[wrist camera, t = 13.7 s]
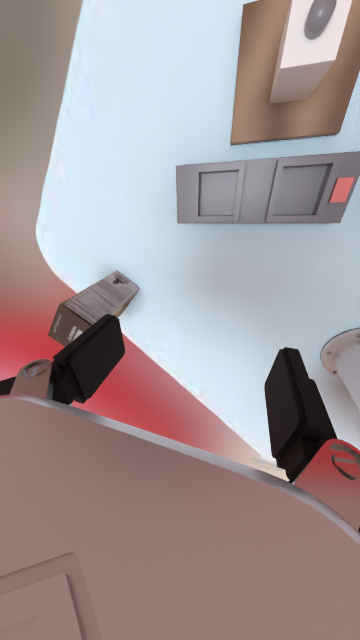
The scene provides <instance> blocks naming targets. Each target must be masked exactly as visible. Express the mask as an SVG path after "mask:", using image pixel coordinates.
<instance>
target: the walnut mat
mask: <svg viewBox="0 0 360 640" xmlns="http://www.w3.org/2000/svg"><path fill="white" fill-rule="evenodd" d="M290 3H291V0H258V1H255V2H251V3H247V4H244V5H243V15H242V25H241V36H240V47H239V58H238V69H237V79H236V90H235V101H234V112H233V123H232V133H231V145H237V144H247V143H257V142H267V141H277V140H287V139H297V138H307V137H317V136H327V135H336V134H337V133H339V132H340V129H341V126H342V123H343V120H344V117H345V113H346V110H347V107H348V104H349V101H350V98H351V95H352V92H353V89H354V86H355V83H356V80H357V77H358V74H359V70H360V0H352V3H351V6H350V10H349V13H348V17H347V21H346V24H345V28H344V31H343V35H342V38H341V42H340V45H339V49H338V52H337V56H336V59H335V61H334V62H333V64H332V65H331V67H330V68H329V70H328V71H327V73H326V74H325V76H324V77H323V78H322V80H321V81H320V83H319V84H318V86H317V87H316V89H315V90H314V92H313V93H312V94H311V96H310V97H309V99H303V100H295V101H287V102H279V103H271V104H269V103H270V97H271V91H272V86H273V80H274V74H275V68H276V63H277V57H278V51H279V46H280V42H281V38H282V34H283V30H284V26H285V22H286V18H287V15H288V11H289V7H290Z"/></svg>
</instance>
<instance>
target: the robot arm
mask: <svg viewBox="0 0 360 640" xmlns="http://www.w3.org/2000/svg"><path fill="white" fill-rule="evenodd" d="M124 353H125V347H124V342H123V338H122V332H121V327H120V322H119V319H118V318H117V317H116V316H115V315H110V314H105V315H104V316H103V317H102V318H100V319H99V320H98V321H97V322H95V323H94V324H93V325H92V326H91V327H89V328H88V329H87V330H86V331H84V332H83V333H82V334H81V335H79V336H78V337H77V338H76V339H75V340H73V341H72V342H71V343H70V344H68V345H67V346H66V347H65V348H64V349H62V350H61V351H60V352H59V353H58V354H56V355H55V356H54V357H53V358H54V361H53V362H51V361H50V360H48V359H39V360H35V361H32V362H30V363H29V364H27V365H25V366H24V367H22V369H20V370H19V372H18V374H17V376H16V377H12V378H9V379H6V380H2V381H0V640H360V451H359V450H358V449H357V448H355V447H354V446H352V445H351V444H349V443H347V442H345V441H343V440H339V439H337V436H336V434H335V431H334V429H333V426H332V424H331V421H330V418H329V416H328V413H327V411H326V408H325V406H324V403H323V401H322V398H321V396H320V393H319V391H318V388H317V386H316V383H315V382H314V380H312V379H309V377H308V374H307V371H306V369H305V366H304V363H303V360H302V358H301V355H300V352H299V350H298V349H293V348H287V347H285V348H284V349H280V350H279V352H278V354H277V357H276V359H275V361H274V364H273V366H272V368H271V371H270V373H269V375H268V378H267V380H266V382H265V398H266V407H267V416H268V425H269V434H270V443H271V452H272V457H273V458H276V461H277V467H279V468H282V469H285V470H286V475H287V478H288V479H289V481H288V482H287V481H285V480H282V479H280V478H278V477H275V476H273V475H270V474H268V473H266V472H263V471H261V470H258V469H255V468H252V467H249V466H246V465H244V464H241V463H238V462H235V461H233V460H230V459H227V458H224V457H221V456H218V455H216V454H212V453H209V452H206V451H204V450H201V449H198V448H195V447H192V446H189V445H186V444H183V443H180V442H177V441H174V440H171V439H169V438H166V437H162V436H159V435H157V434H154V433H151V432H148V431H145V430H142V429H139V428H136V427H133V426H130V425H127V424H124V423H121V422H118V421H115V420H112V419H108V418H106V417H103V416H100V415H97V414H94V413H91V412H88V411H85V410H81V409H78V408H76V407H72V405H71V404H72V402H73V401H74V400H75V401H76V402H79V403H84V402H85V401H86V400H87V399H89V398H90V397H91V396H92V395H93V394H94V392H95V391H96V390H97V388H98V387H99V386H100V384H102V382H103V381H104V380H105V378H106V377H107V376H108V375H109V373H110V372H111V371H112V370H113V368H114V367H115V366H116V364H117V363H118V362H119V361H120V359H121V358H122V357H123V355H124ZM321 361H322V364H323V366H324V368H325V369H326V370H327V371H328V372H329V373H331V374H332V375H334V376H336V377H339V378H341V380H342V382H343V384H344V385H345V387H346V389H347V391H348V393H349V394H350V396H351V398H352V400H353V402H354V403H355V405H356V407H357V409H358V411H359V412H360V329H355V330H351V331H348V332H345V333H342V334H340V335H338V336H336V337H335V338H333V339H332V340H330V341H329V342H328V343H327V344H326V345H325V347H324V348H323V350H322V352H321Z"/></svg>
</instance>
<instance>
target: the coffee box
mask: <svg viewBox="0 0 360 640" xmlns="http://www.w3.org/2000/svg"><path fill="white" fill-rule="evenodd" d="M138 290H139V287H138V286H136V285H135V284H134V283H133V282H131V281H130V280H129V279H128V278H126V277H125V276H124V275H123V274H121V273H120V272H119V271H116V272H114V273H113V274H111V275H109V276H107V277H106V278H104V279H102V280H100V281H99V282H97V283H95V284H93V285H92V286H90V287H88V288H86V289H85V290H83V291H81V292H80V293H78V294H76V295H74V296H73V297H71V298H69V299H67V300H66V301H64V302H62V303H60V304H59V306H58V309H57V312H56V315H55V317H54V320H53V323H52V325H51V328H50V331H49V334H48V335H49V336H50V337H52V338H53V339H55V340H56V341H58V342H59V343H61V344H62V345H64V346H65V347H66V346H67V345H68V344H70V343H71V342H72V341H73V340H75V339H76V338H77V337H78V336H79V335H81V334H82V333H83V332H84V331H86V330H87V329H88V328H89V327H91V326H92V325H93V324H94V323H95V322H97V321H98V320H99V319H100V318H102V317H103V316H104V315H105V314H110V315H115V316H116V317H117V318H118V317H119V316H120V315H121V314H122V313H123V312H124V310H125V309H126V307H127V306H128V304H129V303H130V302H131V300H132V299H133V297H134V296H135V294H136V293H137V292H138Z"/></svg>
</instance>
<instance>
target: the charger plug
mask: <svg viewBox="0 0 360 640" xmlns="http://www.w3.org/2000/svg"><path fill="white" fill-rule="evenodd" d="M351 3H352V0H291V3H290V7H289V11H288V15H287V18H286V22H285V26H284V30H283V34H282V38H281V42H280V46H279V51H278V57H277V63H276V68H275V74H274V80H273V86H272V91H271V97H270V103H269V104H271V103H279V102H287V101H295V100H303V99H309V97H310V96H311V94H312V93H313V92H314V90H315V89H316V87H317V86H318V84H319V83H320V81H321V80H322V78H323V77H324V76H325V74H326V73H327V71H328V70H329V68H330V67H331V65H332V64H333V62H334V61H335V59H336V56H337V52H338V49H339V45H340V42H341V38H342V35H343V31H344V28H345V24H346V21H347V17H348V13H349V10H350V6H351Z"/></svg>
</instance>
